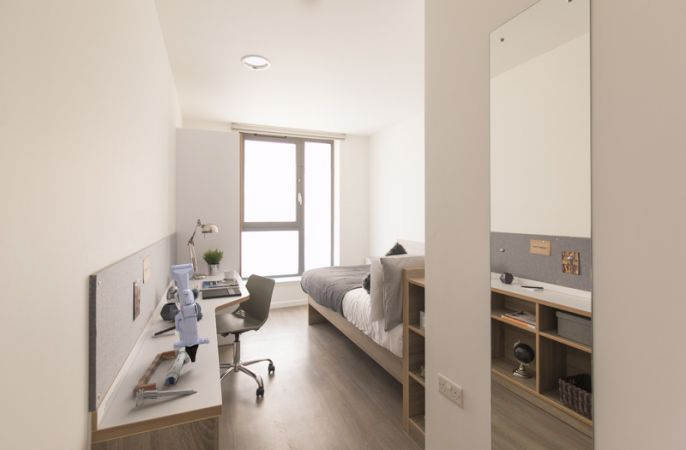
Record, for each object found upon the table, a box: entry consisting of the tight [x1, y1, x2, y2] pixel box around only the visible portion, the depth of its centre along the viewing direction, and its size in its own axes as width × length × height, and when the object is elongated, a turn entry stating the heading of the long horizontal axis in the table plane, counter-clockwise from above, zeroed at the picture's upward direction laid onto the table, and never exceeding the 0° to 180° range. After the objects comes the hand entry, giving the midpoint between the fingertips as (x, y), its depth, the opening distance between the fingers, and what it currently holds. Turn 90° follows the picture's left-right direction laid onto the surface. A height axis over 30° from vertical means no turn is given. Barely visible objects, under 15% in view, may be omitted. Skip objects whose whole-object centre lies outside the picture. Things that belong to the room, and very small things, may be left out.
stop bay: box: [133, 349, 177, 397], centre depth 145 cm, size 32×8×3 cm, turn 14°
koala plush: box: [172, 287, 203, 321], centre depth 214 cm, size 17×18×20 cm
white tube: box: [164, 347, 191, 386], centre depth 147 cm, size 5×7×25 cm
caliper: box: [134, 388, 198, 407], centre depth 125 cm, size 20×1×6 cm, turn 111°
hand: (193, 361), depth 148 cm, fingers closed
